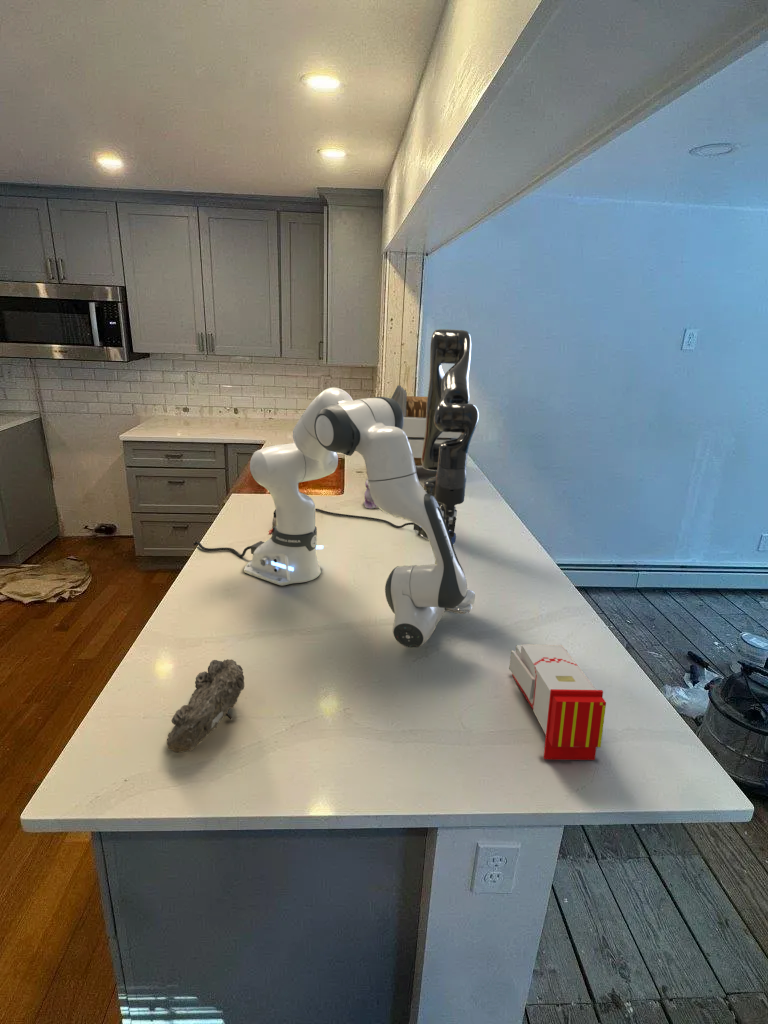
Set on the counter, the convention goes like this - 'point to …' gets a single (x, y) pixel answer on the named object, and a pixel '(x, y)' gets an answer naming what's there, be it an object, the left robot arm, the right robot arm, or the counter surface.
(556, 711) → the toy
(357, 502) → the counter surface
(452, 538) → the lid
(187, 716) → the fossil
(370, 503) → the figurine
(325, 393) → the left robot arm
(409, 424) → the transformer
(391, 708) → the counter surface
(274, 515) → the figurine character
